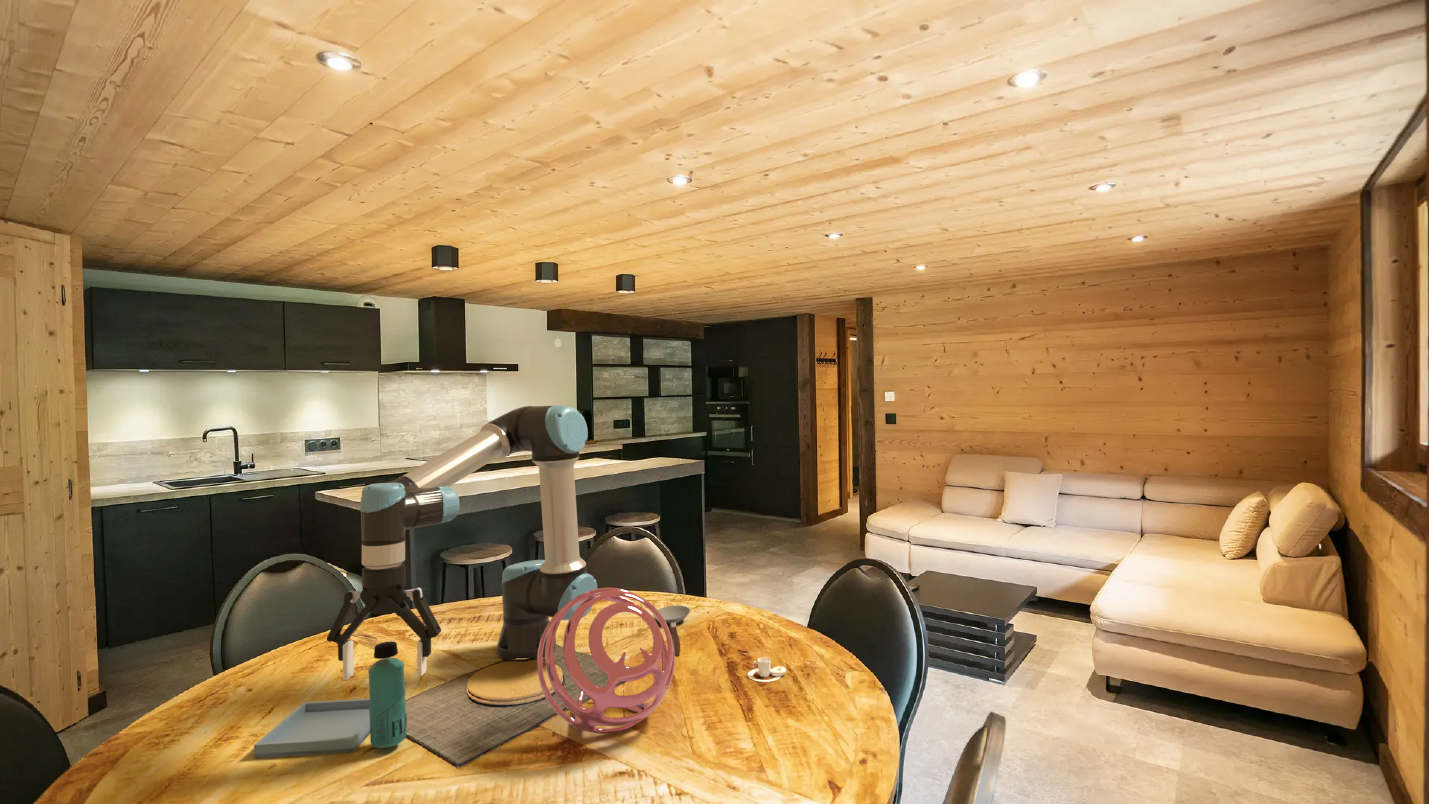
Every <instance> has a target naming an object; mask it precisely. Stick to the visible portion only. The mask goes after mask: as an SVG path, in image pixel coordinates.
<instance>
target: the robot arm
mask: <svg viewBox="0 0 1429 804" xmlns="http://www.w3.org/2000/svg"><path fill="white" fill-rule="evenodd" d="M588 434H589V432H588V426H587V422H586V420H585V417H584V416H583V415H582V414H581V413H580V412H579V410H578V409H577V408H575V407H572V406H567V405H561V404H560V405H559V404H558V405H557V404H556V405H537V406H535V405H529V406H527V405H526V406H522V407H518V408H515V409H513V410H510V411H508V412H506V413H504V414H502V415H501V416H500V415H499V417H498V416H497V417H496V418H495V419H492V420H490V421H489V422H487V423H486V424H484V425H483V426H482V427H481V428H480V431H479V432H478V433H476V434H475V435H472V436H471V437H469V438H467V439H466V440H464V441H462V442H460V443H458V444H456V445H455V446H453V447H452V448H450V449H447V450H445V451H444V452H443V453H440V454H439V455H437V456H436V457H434V458H431V459H430V460H428V461H426V462H425V463H423V464H421V465H419V466H418V467H415V468H414V469H412V470H410V471H408V472H406V473H405V474H403V475H401V476H399V477H397V478H396V479H394V480H392V481H390V482H383V483H382V482H379V483H371V484H368V485H365V486H364V487H363V488H362V490H361V497H360V503H359V504H360V507H359V508H360V509H359V510H360V519H361V520H360V522H361V526H360V527H361V565H362V566H363V568H362V569H361V585H362V586H361V587H362V590H361V591H358V590H356V589H355V588H352V589H350V590H348V591H347V592H345V593H344V596H343V605H342V607H341V609H340V611H339V613H338V615H337V616H336V619H335V621H334V623H333V625H332V627H331V629H330V631H329V633H328V635H327V636H326V641H327V642H328V643H331V642H333V643H336V644H337V659H338V661H339V662H342V680H344V681H346V680H349V679H350V678H351V677H352V676H354V672H355V671H354V669H355V668H354V660H355V659H354V639H352V640H349V639H351V637H352V635H353V634H354V633H355V632H356V631H357V629H359V627H360V626H361V625H362V624H363V622H364V621H365V620H366V619H367V617H369V616H370V614H373V615H375V616H378V615H379V616H380V615H381V614H382V615H383V614H384V615H392V614H393V613H394V614H395V615H396V616H398V617H400V618H401V619H402V620H403V621H404V623H405V624H407V626H408V627H409V628H410V629H411V630H412V631H413V632H414V633H415V635H416V636H418V637H419V640H418V641H416V652H417V653H416V655H417V656H416V658H417V659H416V662H417V664H416V665H417V666H416V667H417V669H416V670H417V673H416V674H417V677H422V676H424V674H425V673H426V672H427V658H428V657H429V656H430V655H431V654H432V638H436V637H437V636H438V635H439V634H440V633H441V632H442V628H441V626H440V624H439V623H438V620H437V618H436V616H435V615H434V613H433V611H432V608H431V607H430V606H429V604H428V602H427V600H426V598H425V594H424V593H425V592H424V588H423V587H422V586H418V587H416V588H413V589H408V588H407V586H406V583H407V582H406V578H407V576H406V574H407V573H406V564H405V563H404V562H405V560H406V530H410V529H415V528H421V527H427V526H433V525H441V524H443V523H447V522H450V521H453V520H454V519H455V518H456V517H457V516H458V514H459V510H460V498H459V494H458V493H457V492H456V490H455V489H454V488H453V487H452V486H453V485H455V484H456V483H458V482H459V481H461V480H463V479H464V478H466V477H468V476H469V475H471V474H472V473H474V472H475V471H477V470H479V469H481V468H482V467H484V466H486V465H487V464H489V463H490V462H492V461H494V460H495V459H501V460H502V459H505V458H507V457H508V456H509V455H512V454H516V453H521V452H531V460H532V463H533V464H534V465H536V466H537V467H538V473H539V474H538V475H539V487H540V489H539V491H540V504H541V517H542V518H541V519H542V530H543V531H542V533H543V534H542V535H543V545H544V547H543V548H544V549H543V550H544V559H535V560H527V561H523V562H522V561H521V562H516V563H514V564H510V565H507V566H506V567H505V568H504V569H503V571H502V578H501V593H502V595H501V597H502V598H501V599H502V616H503V617H502V618H503V619H502V620H503V621H502V622H503V623H502V625H501V626H502V627H501V630H500V634H499V636H498V640H497V643H496V655H497V656H498V657H499V658H501V659H503V660H507V661H511V660H510V659H516V658H535V659H537V654H538V648H539V644H540V640H541V637H542V635H543V632H544V630H545V628H546V627H547V625H548V623H549V622H550V620H551V619H550V618H553V616H554V615H555V614H556V613H557V612H558V611H559V610H560V609H561V608H562V607H564V606H565V605H566V604H567V603H569V602H570V601H571V600H572V599H574V598H575V597H577V596H579V595H581V594H583V593H585V592H587V591H590V590H594V589H598V583H597V580H596V578H594V576H593V575H592V574H590V573H587V562H586V561H585V560H584V559H583V558H582V557H581V556H580V543H579V529H578V528H579V527H578V525H579V524H578V514H577V513H578V512H577V495H576V494H577V493H576V481H575V463H576V462H577V461H578V460H579V459H580V451H582V450H583V449H584V448H585V446H586V442H587V441H588V437H589V435H588ZM407 597H408V598H409V599H410V601H412V602H413V604H414V606H415V608H416V611H417V612H418V615H419V616H420V618H421V619H422V620H421V619H420V618H419V617H418V616H417V615H416V614H415V612H413V610H412V609H411V608H410V605H409V604H408V603H407V602H406V599H407ZM359 599H360V600H361V601H362V603H363V604H364V606H363V608H362V609H361V610H360V612H359V613H358V614H357V616H356V617H355V618H354V619H353V620H352V622H350V624H349V625H348V626H347V628H346V629H345V630H344V631H343V628H344V627H345V625H346V622H347V621H348V618H349V617H350V614H351V612H352V610H353V608H354V606H355V604H356V603H357V602H359ZM580 604H581V603H580ZM580 604H577V605H575V606H573V607H571V608H570V609H569V610H568V611H567V613H566V614H565V615H564V617H563V618H562V620H561V621H569V619H570V617H571V615H572V614H573V612H574V611H575V610H576V608H577V607H578V606H579V605H580ZM594 605H595V604H593V605H592V606H591V607H590V608H589V609H588V610H587V611H586V612H585V613H584V615H583V616H582V618H581V619H583V618H584V617H586V616H587V615H588V614H589V613H590V612H591V610H592V607H594ZM342 631H343V632H342ZM548 633H549V632H548ZM547 636H548V634H547ZM546 641H547V637H546V640H545V643H544V647H543V654H542V657H545V647H546ZM556 648H557V637H556V636H555V640H554V651H555V650H556Z"/></svg>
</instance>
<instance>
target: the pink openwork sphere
mask: <svg viewBox="0 0 1429 804" xmlns="http://www.w3.org/2000/svg"><path fill="white" fill-rule="evenodd" d="M630 599H632V600H630ZM633 600H634V601H637V602H639V603H640V604H642V605H643V606H644V607H646V608H647V609H648V610H649V611H650V612H649V611H648V610H646V609H645V608H643V607H642V606H640V605H639V604H637V603H636V602H634V601H633ZM600 601H608V602H613V603H611V604H609V605H607V606H605V607H603V608H602V609H601V610H600V611H599V612H598V613H597V614H596V616H595V617H594V618H593V621H592V622H591V624H590V627H589V631H588V647H589V648H588V649H589V651H590V654H591V657H592V659H593V661H594V663H595V664H596V666H597V668H599V670H601V672H603V673H604V674H605V675H607V677H608V681H607V683H606V685H605V686H603V687H602V686H601V685H597V684H595V683H593V682H592V681H591V680H590V679H589V678H588V676H587V675H586V674H585V672H584V671H583V669H582V667H581V666H580V663H579V660H578V657H577V652H576V633H577V629H578V626H579V623H580V622H581V619H583V618H582V616H583V615H584V613H585V612H586V611H587V610H588V609H589V608H590V607H591V606H592V605H593V604H594V605H595V604H597V603H598V602H600ZM580 603H581V604H580ZM577 604H580V605H579V606H578V607H577V608H576V610H575V611H574V612H573V614H572V615H571V617H570V619H569V620H567V621H568V622H567V623H566V626H565V630H564V635H563V641H562V642H563V643H562V650H563V651H562V652H563V659H564V662H565V663H564V664H565V666H566V669H567V672H568V673H569V676H570V678H571V679H572V681H573V682H574V685H576V686H577V688H578V689H579V690H580V692H579V694H578V697H577V700H576V701H575V699H574V698H572V696H571V695H570V693H568V692H567V690H566V688H565V687H564V686H563V683H562V682H561V680H560V678H559V673H558V670H557V668H556V663H555V656H554V655H555V652H554V651H555V650H554V640H555V637H556V634H557V631H558V628H559V625H560V624H561V622H562V621H563V620H562V618H563V617H564V615H565V614H566V613H567V611H568V610H569V609H570V608H571V607H573V606H575V605H577ZM594 605H593V606H594ZM593 606H592V607H593ZM658 610H659V609H657V608H656V607H655V606H654V604H652V603H651V602H650V601H648V600H647V599H645V598H644V597H643V596H640V595H639V594H636V593H634V592H632V591H629V590H626V589H622V588H619V587H618V588H617V587H600V588H597V589H594V590H590V591H587V592H585V593H583V594H581V595H579V596H577V597H575V598H574V599H572V600H571V601H570V602H569V603H567V604H566V605H565V606H564V607H562V608H561V609H560V610H559V611H558V612H557V613H556V614H555V615H554V616H553V617H551V619H549V620H550V622H549V623H548V625H547V627H546V628H545V630H544V632H543V635H542V637H541V640H540V644H539V648H538V654H537V658H536V670H537V677H538V681H539V685H540V688H541V690H542V693H543V695H544V697H545V699H546V701H547V703H548V705H550V707H551V708H552V710H553V711H554V712H555V713H556V714H557V715H558V716H559V717H560V719H562V720H564V722H566V723H567V724H569V725H570V726H572V727H573V728H575V729H576V730H578V731H581V732H586V733H590V734H591V733H592V734H597V735H598V734H599V735H607V734H609V735H610V734H615V733H620V732H623V731H626V730H628V729H629V730H630V729H631V728H633V727H635V726H637V725H638V724H640V723H641V722H642V721H643V720H645V719H646V718H648V716H650V714H652V713H653V712H654V711H655V709H656V708H657V707H658V706H660V704H661V702H662V701H663V699H664V698H665V696H666V694H667V692H668V690H669V688H670V686H671V683H672V680H673V677H674V673H675V663H676V655H675V651H674V644H673V640H672V636H671V635H672V632H671V631H670V630H671V629H670V628H669V625H668V624H667V623H666V621H665V620H664V618H663V616H662V615H661V614H660V612H659V611H658ZM621 613H631V614H635V615H636V616H639V617H640V618H641V619H642V620H643V621H644V623H645V624H646V625H647V626H648V628H649V629H650V631H651V633H652V640H653V641H652V642H653V643H652V644H653V645H652V649H651V652H650V653H648V652H647V651H646V650H645V649H644V648H643V647H640V648H639V650H640V653H641V654H642V656H643V659H644V661H643V662H642V663H639V664H638V665H635V666H626V665H625V660H626V654H627V651H624V652H623V653H622V655H621V656H620V658H619V660H618V661H617V662H615V661H614V660H613V659H611V657H610V656H609V654H607V652H606V650H605V647H604V645H603V644H604V643H603V631H604V628H605V626H606V624H607V622H608V621H609V620H610V619H611V618H612V617H614V616H615V615H617V614H621ZM650 613H652V614H650ZM653 614H654V615H655V617H656V618H657V619H658V620H657V619H656V618H655V617H654V616H653ZM656 620H657V621H658V622H657V621H656ZM658 623H659V624H660V626H661V627H662V629H663V632H664V634H665V638H666V639H665V638H664V636H663V634H662V632H661V629H660V627H659V624H658ZM548 632H549V633H548ZM547 634H548V636H547ZM546 637H547V641H546V647H545V656H544V657H545V658H544V662H545V668H546V673H547V677H548V680H549V682H550V684H551V687H552V690H553V691H554V692H555V694H556V696H557V698H558V699H559V700H560V702H562V704H563V705H564V706H565V707H566V708H567V709H568V710H569V711H570V712H571V713H573V715H572V717H571V716H570V715H569V714H568V713H566V712H565V711H564V710H563V709H562V708H561V706H559V705H558V703H557V701H555V699H554V698H553V696H552V694H551V692H550V690H549V688H548V686H547V683H546V679H545V674H544V669H543V656H542V654H543V647H544V643H545V640H546ZM665 641H666V642H665ZM660 661H661V670H660V668H659V662H660ZM650 674H652V677H653V683H652V685H650V686H649V687H648V688H646V689H644V690H643V691H641V692H638V693H634V694H629V695H619V694H616V693H615V690H616V687H617V684H618V683H620V682H633V681H638V680H641V679H643V678H645V677H646V676H649V675H650ZM584 694H585V696H587V697H588V698H589V699H590V700H591V701H592V703H593V706H592V707H591V708H586V707H584V706H583V699H584V698H583V697H584ZM652 698H653V699H652ZM650 699H652V700H651V701H649V700H650ZM647 701H649V702H647ZM611 708H613V709H615V708H617V709H625V710H628V711H631V712H634V714H631V715H628V716H622V717H609V716H607V715H606V716H605V714H604V713H605V711H606V710H608V709H611ZM598 726H599V727H600V726H601V727H609V728H599V727H598ZM610 727H611V728H610Z"/></svg>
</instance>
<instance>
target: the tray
mask: <svg viewBox="0 0 1429 804" xmlns="http://www.w3.org/2000/svg"><path fill="white" fill-rule="evenodd" d="M369 704H370V698H357V699H356V698H355V699H341V700H340V699H338V700H336V699H335V700H322V701H321V700H320V701H305V702H302V703H301V704H300V705H299V706H298V707H296V708H295V709H294V710H293V711H292V712H290V714H289V715H287V716H286V717H285V718H284V719H283V720H281V722H279V723H278V724H277V725H276V726H274V727H273V728H272V729H271V730H270V731H269V732H267V733H266V734H265V735H264V736H263V737H262V738H261V739H259V740H258V741H257V742H255V744H254V745H253V749H254V751H253V755H254V756H253V757H254V759H264V758H265V759H266V758H281V757H282V758H283V757H297V756H298V757H299V756H312V755H313V756H314V755H327V754H329V755H330V754H344V753H346V754H347V753H355V752H356V751H357V749H358V748H359V747H360V746H361V745H362V744H363V742H364V741H365V740H366V739H367V738H368V736H370V733H371V732H370V730H369V729H370V727H369V726H370V725H369V724H370V714H369V713H370V710H369V707H370V705H369Z"/></svg>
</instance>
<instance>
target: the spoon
mask: <svg viewBox="0 0 1429 804" xmlns="http://www.w3.org/2000/svg"><path fill="white" fill-rule="evenodd" d="M657 610H658V611H659V612H660V614H661V615H662V616H663V618H664V620H665V621H666V623H667V625H670V630H671V631H670V632H671V636H672V640H673V644H674V651H675V657H679V656H680V653H681V642H680V636H679V634H678V629H677V624H678V623H680V622H681V621H683V620H685V619H686V618H687V617H688V615H689V614H690V612H691V609H690V608H689V607H688V606H685V605H669V606H664V607H661V608H659V609H657ZM652 617H653V618H654V619H655V620H657V621H658V619H657V618H656V617H655V615H654V614H653V613H652Z"/></svg>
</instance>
